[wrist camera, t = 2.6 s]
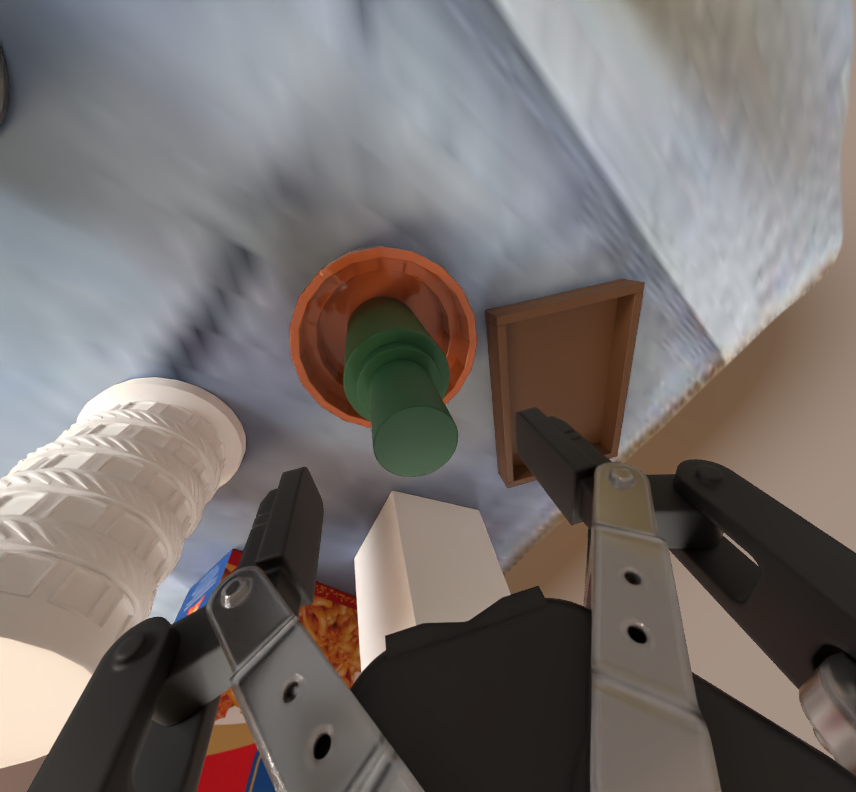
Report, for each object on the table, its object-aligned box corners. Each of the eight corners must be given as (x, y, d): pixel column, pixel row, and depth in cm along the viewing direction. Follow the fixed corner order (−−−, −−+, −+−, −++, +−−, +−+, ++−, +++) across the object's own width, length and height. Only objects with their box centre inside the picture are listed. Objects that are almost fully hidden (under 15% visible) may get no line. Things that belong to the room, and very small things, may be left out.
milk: (478, 510, 39) (646, 879, 17) (437, 569, 43) (529, 937, 21) (392, 490, 35) (461, 957, 12) (354, 558, 39) (354, 1013, 16)
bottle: (337, 305, 24) (314, 397, 11) (411, 289, 25) (482, 355, 11) (358, 373, 27) (362, 516, 13) (424, 357, 28) (493, 478, 14)
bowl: (274, 265, 23) (255, 272, 19) (446, 230, 24) (466, 229, 20) (331, 414, 29) (327, 446, 25) (465, 380, 31) (483, 404, 26)
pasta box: (408, 617, 47) (467, 1028, 23) (372, 645, 48) (389, 1060, 24) (232, 548, 34) (-73, 1331, 10) (189, 589, 35) (-173, 1365, 11)
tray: (484, 310, 28) (496, 316, 25) (622, 278, 29) (645, 282, 27) (498, 473, 37) (507, 488, 35) (601, 443, 39) (617, 456, 36)
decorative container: (236, 378, 26) (56, 594, 10) (254, 485, 31) (151, 741, 15) (63, 374, 23) (-538, 661, 8) (113, 492, 28) (-187, 812, 13)
